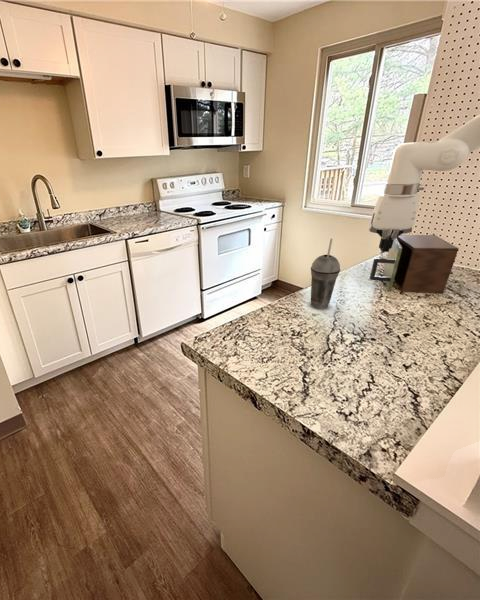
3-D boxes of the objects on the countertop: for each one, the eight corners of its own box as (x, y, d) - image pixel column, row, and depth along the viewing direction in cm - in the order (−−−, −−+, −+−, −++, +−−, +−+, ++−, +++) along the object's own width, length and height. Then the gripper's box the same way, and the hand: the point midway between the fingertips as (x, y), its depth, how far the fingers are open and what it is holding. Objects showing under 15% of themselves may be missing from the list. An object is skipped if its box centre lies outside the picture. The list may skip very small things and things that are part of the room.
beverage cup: (301, 307, 92) (310, 241, 83) (311, 298, 96) (320, 235, 88) (327, 314, 87) (340, 244, 78) (337, 304, 91) (350, 237, 82)
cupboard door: (368, 288, 98) (377, 247, 93) (365, 272, 110) (373, 235, 104) (391, 290, 95) (402, 248, 90) (385, 274, 107) (395, 235, 101)
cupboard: (401, 291, 94) (414, 248, 89) (386, 274, 107) (396, 235, 101) (443, 293, 91) (458, 248, 85) (422, 275, 103) (434, 234, 98)
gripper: (428, 187, 90) (409, 248, 98) (367, 188, 96) (354, 246, 104) (438, 190, 84) (417, 255, 92) (372, 192, 90) (358, 253, 98)
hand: (384, 250), depth 98 cm, fingers closed
